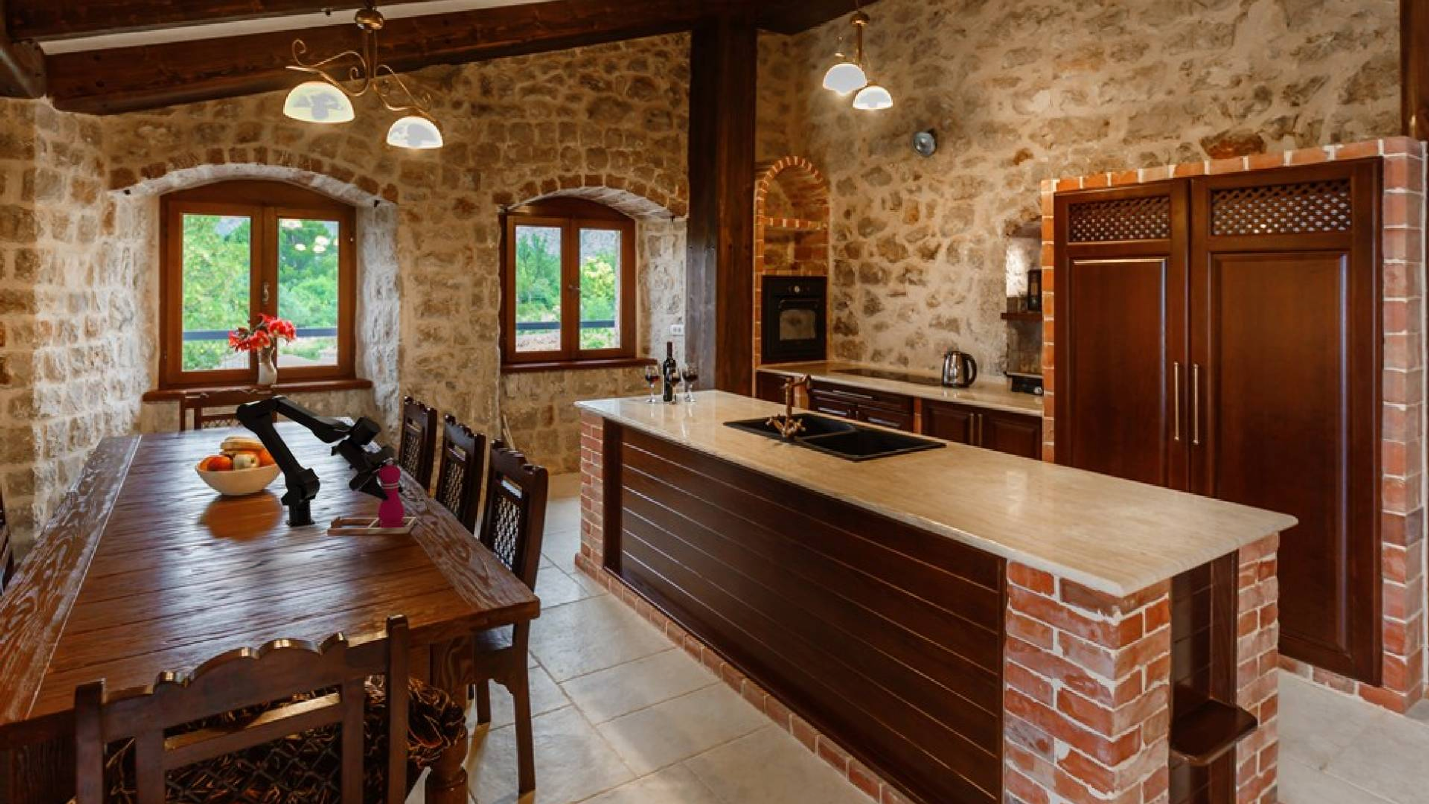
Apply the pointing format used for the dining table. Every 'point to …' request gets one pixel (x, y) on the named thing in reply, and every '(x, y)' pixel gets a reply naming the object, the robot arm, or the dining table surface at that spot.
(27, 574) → the dining table surface
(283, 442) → the robot arm
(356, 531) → the rack
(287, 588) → the dining table surface
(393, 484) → the pepper mill
